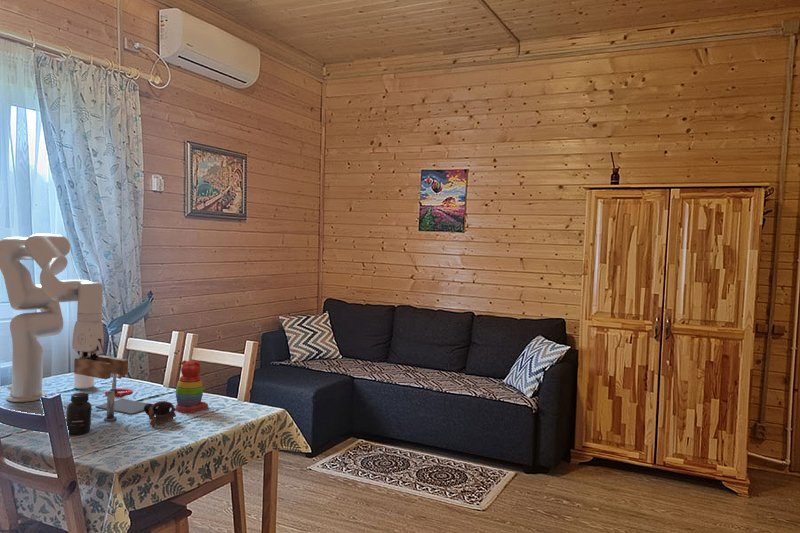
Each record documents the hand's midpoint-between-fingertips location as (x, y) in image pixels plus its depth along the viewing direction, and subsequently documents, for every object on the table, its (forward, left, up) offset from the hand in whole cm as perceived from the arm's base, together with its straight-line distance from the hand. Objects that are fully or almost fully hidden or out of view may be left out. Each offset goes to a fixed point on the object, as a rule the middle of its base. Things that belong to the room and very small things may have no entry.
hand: (87, 370), depth 202 cm
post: (+12, -1, -15) cm, 19 cm away
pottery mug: (+28, +5, -15) cm, 32 cm away
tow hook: (-12, +25, -15) cm, 32 cm away
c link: (+6, 0, 0) cm, 6 cm away
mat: (+5, +12, -15) cm, 20 cm away
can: (-30, +24, -15) cm, 41 cm away
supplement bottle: (+14, -15, -15) cm, 26 cm away
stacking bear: (+25, +22, -15) cm, 37 cm away
